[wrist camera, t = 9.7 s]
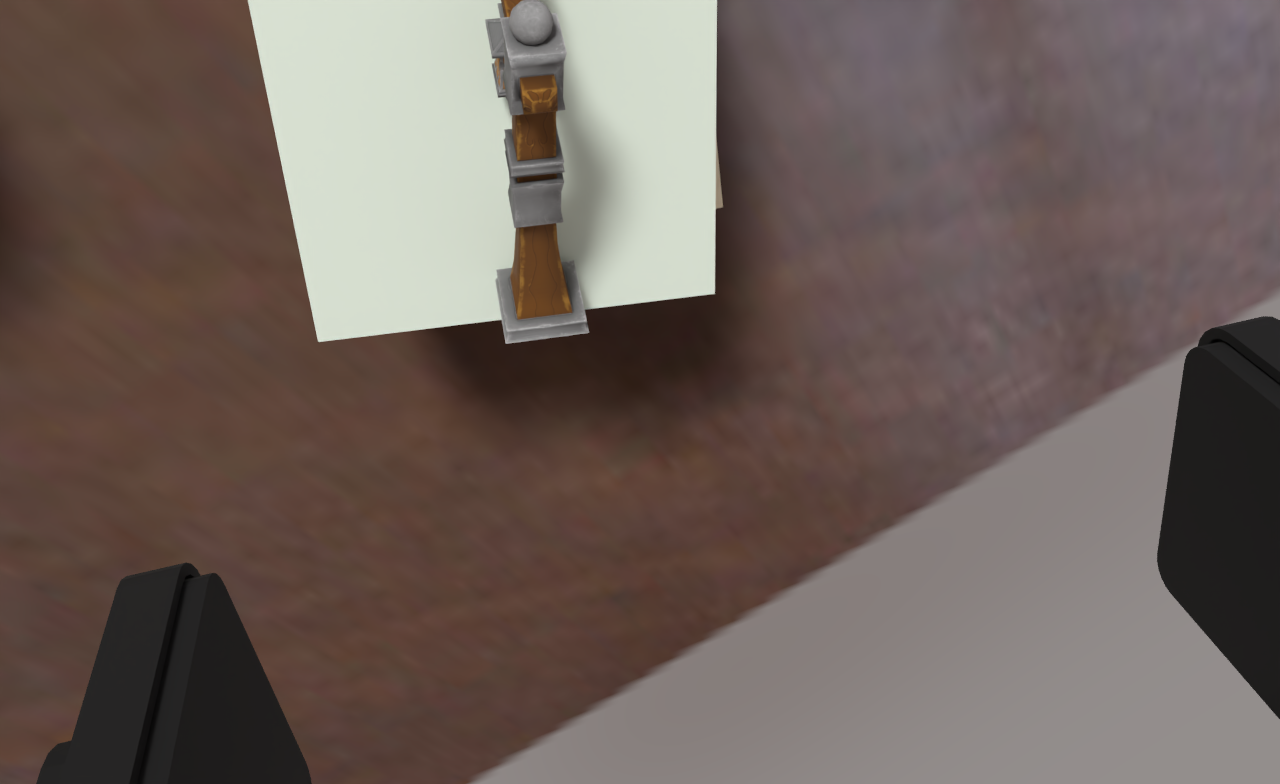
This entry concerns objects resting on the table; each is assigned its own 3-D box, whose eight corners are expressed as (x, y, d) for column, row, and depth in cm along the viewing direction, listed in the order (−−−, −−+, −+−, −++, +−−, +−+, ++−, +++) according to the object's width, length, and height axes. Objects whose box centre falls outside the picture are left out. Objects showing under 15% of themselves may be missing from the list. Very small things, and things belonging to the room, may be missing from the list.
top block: (660, -159, 26) (717, -129, 22) (667, 211, 31) (714, 293, 26) (250, -136, 24) (227, -98, 20) (324, 248, 29) (318, 341, 25)
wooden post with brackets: (552, -132, 20) (595, 33, 18) (558, 188, 27) (590, 340, 24) (450, -125, 20) (479, 43, 17) (481, 196, 27) (506, 351, 24)
